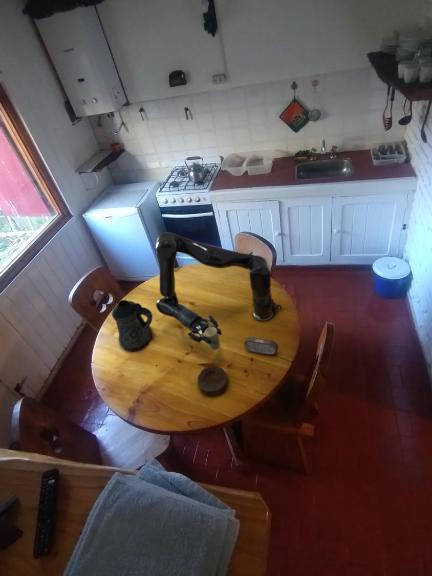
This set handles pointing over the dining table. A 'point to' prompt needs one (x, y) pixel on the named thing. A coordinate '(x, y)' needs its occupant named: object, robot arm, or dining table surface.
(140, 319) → the beer stein
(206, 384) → the stand
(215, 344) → the disc stack
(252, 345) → the tin
